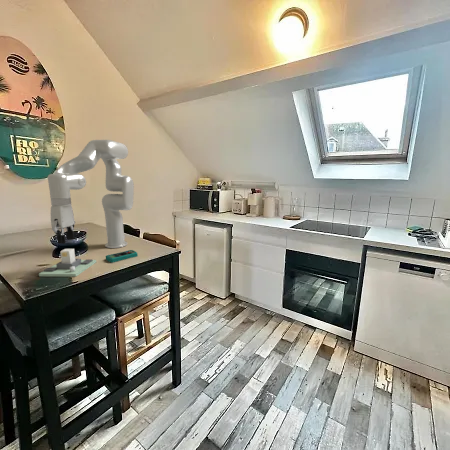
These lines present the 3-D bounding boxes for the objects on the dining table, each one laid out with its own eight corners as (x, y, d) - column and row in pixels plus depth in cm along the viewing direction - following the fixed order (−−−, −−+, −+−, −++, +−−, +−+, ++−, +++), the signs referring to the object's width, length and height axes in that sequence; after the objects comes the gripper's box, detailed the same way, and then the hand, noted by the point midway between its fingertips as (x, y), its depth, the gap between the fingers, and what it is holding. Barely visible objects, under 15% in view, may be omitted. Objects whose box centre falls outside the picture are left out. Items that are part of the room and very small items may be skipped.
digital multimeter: (138, 256, 138) (138, 251, 137) (111, 263, 127) (110, 258, 127) (132, 254, 143) (132, 248, 142) (105, 260, 132) (104, 255, 132)
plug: (67, 264, 121) (65, 248, 120) (76, 264, 121) (74, 248, 120) (61, 268, 117) (59, 251, 115) (70, 268, 117) (68, 251, 115)
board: (64, 261, 129) (63, 254, 128) (96, 262, 129) (95, 255, 128) (39, 276, 111) (37, 268, 110) (75, 276, 111) (74, 268, 110)
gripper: (64, 199, 122) (69, 236, 125) (38, 204, 105) (45, 246, 109) (80, 200, 122) (84, 236, 125) (57, 204, 105) (62, 246, 108)
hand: (66, 240), depth 117 cm, fingers open, 5 cm apart
